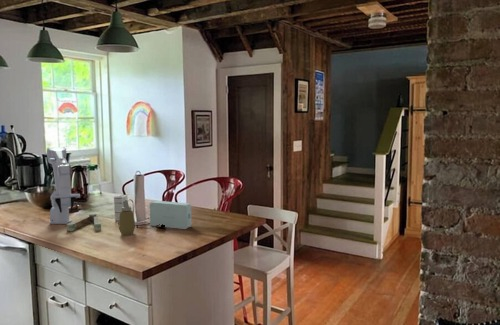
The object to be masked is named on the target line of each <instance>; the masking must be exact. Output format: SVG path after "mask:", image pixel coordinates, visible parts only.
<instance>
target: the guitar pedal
mask: <svg viewBox="0 0 500 325" xmlns="http://www.w3.org/2000/svg"><path fill="white" fill-rule="evenodd" d="M149 224H150V226H152V227H156V226H155V225H159V224H163V225H165V227H164V228H173V229H181V230H186V229H188V228H190V227H191V226H192V205H191V203H188V202H178V201H177V202H175V201H164V200H155V201H152V202H150V203H149Z"/></svg>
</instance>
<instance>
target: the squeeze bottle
mask: <svg viewBox="0 0 500 325" xmlns="http://www.w3.org/2000/svg"><path fill="white" fill-rule="evenodd" d="M135 228H136V223H135V217H134V211H133V210H132V207H131V206H130V205H129V201H127V200H125V203H124V207H122V211H121V212H120V219H119V221H118V229H119V232H120V234H121V235H122V236H131V235H134V232H135Z"/></svg>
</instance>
